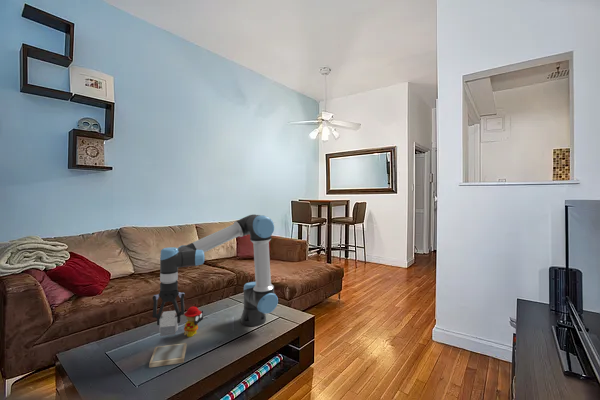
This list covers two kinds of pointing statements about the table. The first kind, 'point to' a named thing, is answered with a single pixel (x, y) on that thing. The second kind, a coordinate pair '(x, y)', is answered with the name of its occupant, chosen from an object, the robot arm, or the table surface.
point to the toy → (192, 321)
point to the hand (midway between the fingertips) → (168, 330)
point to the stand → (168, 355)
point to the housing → (167, 323)
